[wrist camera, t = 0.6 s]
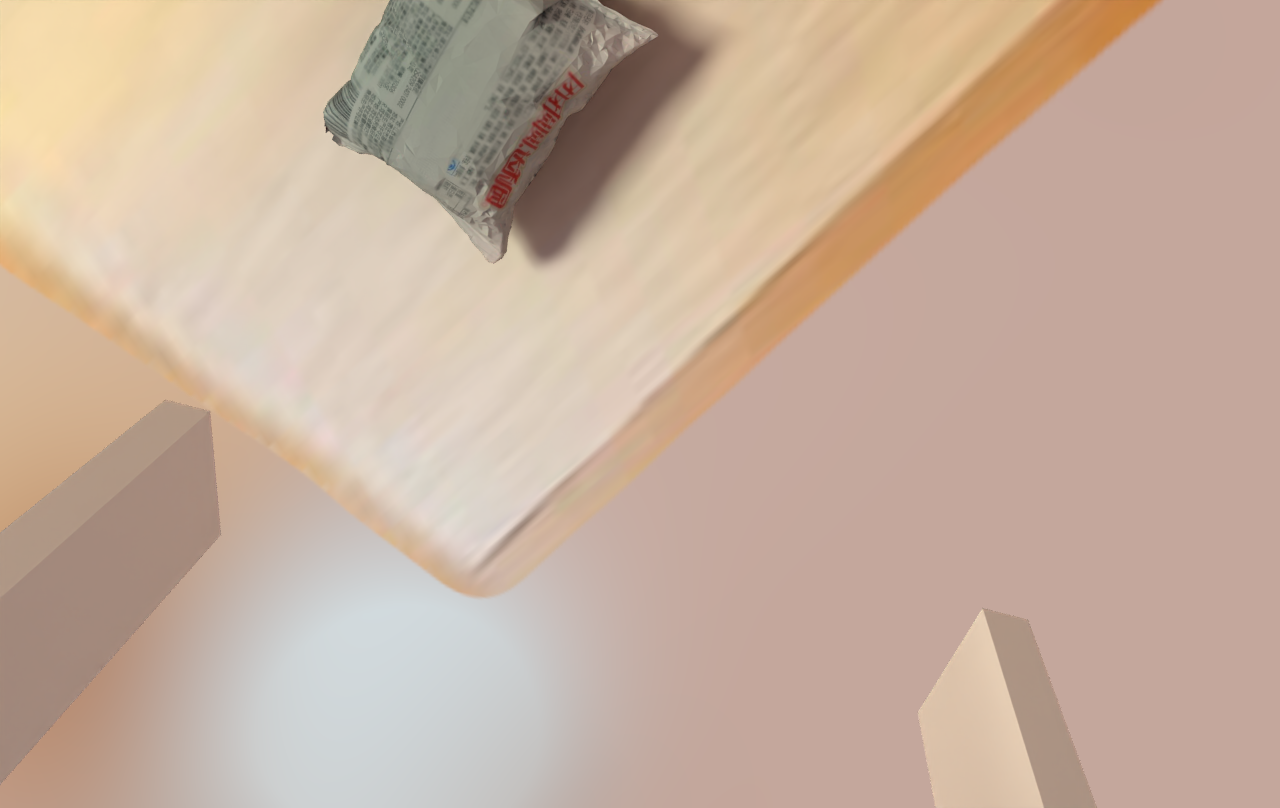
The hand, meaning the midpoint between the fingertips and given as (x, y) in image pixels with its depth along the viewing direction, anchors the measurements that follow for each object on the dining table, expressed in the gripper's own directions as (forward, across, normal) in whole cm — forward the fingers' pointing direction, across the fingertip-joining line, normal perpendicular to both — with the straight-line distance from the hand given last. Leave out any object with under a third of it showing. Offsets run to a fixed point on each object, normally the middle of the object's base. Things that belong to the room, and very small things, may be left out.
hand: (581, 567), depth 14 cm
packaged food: (+24, -9, +2) cm, 26 cm away
